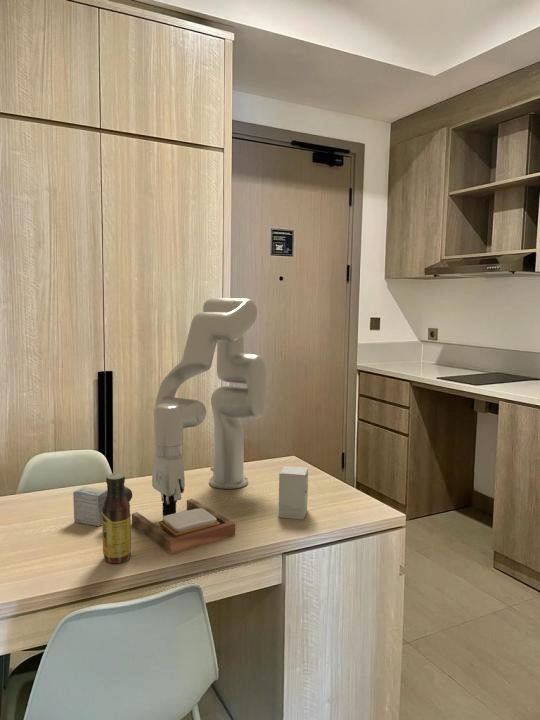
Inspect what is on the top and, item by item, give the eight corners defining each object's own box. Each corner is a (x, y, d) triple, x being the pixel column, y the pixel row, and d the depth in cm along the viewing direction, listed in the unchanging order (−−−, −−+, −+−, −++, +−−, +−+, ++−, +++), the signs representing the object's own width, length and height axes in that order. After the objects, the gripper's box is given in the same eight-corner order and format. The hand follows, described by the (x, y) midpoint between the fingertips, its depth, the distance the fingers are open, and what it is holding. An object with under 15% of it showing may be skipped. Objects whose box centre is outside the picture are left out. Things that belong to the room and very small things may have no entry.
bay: (110, 524, 145) (109, 485, 144) (186, 505, 160) (186, 469, 158) (153, 560, 126) (152, 515, 125) (235, 534, 140) (235, 494, 139)
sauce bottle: (106, 552, 130) (104, 470, 128) (133, 551, 130) (132, 470, 128) (100, 566, 123) (98, 480, 121) (128, 565, 124) (127, 479, 122)
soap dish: (175, 549, 132) (175, 529, 132) (158, 535, 140) (158, 515, 140) (220, 537, 140) (220, 517, 139) (201, 523, 147) (201, 505, 147)
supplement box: (304, 520, 150) (305, 475, 149) (277, 517, 152) (278, 473, 150) (308, 510, 158) (308, 467, 156) (282, 507, 159) (283, 465, 158)
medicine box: (108, 521, 148) (108, 489, 147) (98, 527, 144) (97, 495, 143) (84, 516, 151) (83, 486, 150) (73, 523, 146) (72, 491, 146)
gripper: (142, 446, 150) (143, 511, 152) (170, 459, 139) (171, 529, 141) (167, 441, 155) (168, 504, 157) (195, 454, 143) (196, 521, 146)
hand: (169, 516), depth 149 cm, fingers closed
